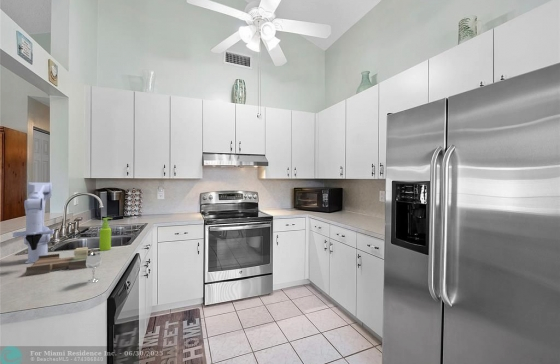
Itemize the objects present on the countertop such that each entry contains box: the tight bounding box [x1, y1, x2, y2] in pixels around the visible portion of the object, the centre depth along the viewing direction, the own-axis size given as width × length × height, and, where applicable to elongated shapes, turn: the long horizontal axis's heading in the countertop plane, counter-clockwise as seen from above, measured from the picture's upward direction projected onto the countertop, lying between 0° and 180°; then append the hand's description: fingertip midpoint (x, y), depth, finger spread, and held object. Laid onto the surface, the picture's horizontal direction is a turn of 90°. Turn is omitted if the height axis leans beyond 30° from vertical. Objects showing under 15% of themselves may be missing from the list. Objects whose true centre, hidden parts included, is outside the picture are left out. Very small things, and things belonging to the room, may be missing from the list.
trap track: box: [25, 248, 95, 277], centre depth 127 cm, size 19×23×4 cm
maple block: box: [73, 246, 89, 260], centre depth 131 cm, size 5×5×5 cm
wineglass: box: [86, 252, 103, 284], centre depth 110 cm, size 6×6×12 cm
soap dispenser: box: [99, 217, 113, 252], centre depth 155 cm, size 6×7×20 cm
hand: (34, 249), depth 122 cm, fingers closed
